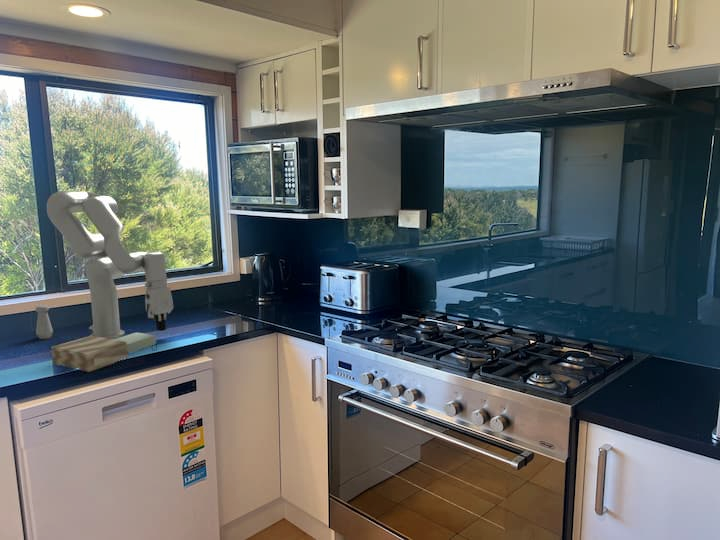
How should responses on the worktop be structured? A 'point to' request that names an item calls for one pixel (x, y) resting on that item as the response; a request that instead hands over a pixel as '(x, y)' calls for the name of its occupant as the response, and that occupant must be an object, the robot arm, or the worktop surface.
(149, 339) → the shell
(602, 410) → the worktop surface
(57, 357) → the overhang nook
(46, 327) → the salt shaker
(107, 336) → the robot arm
